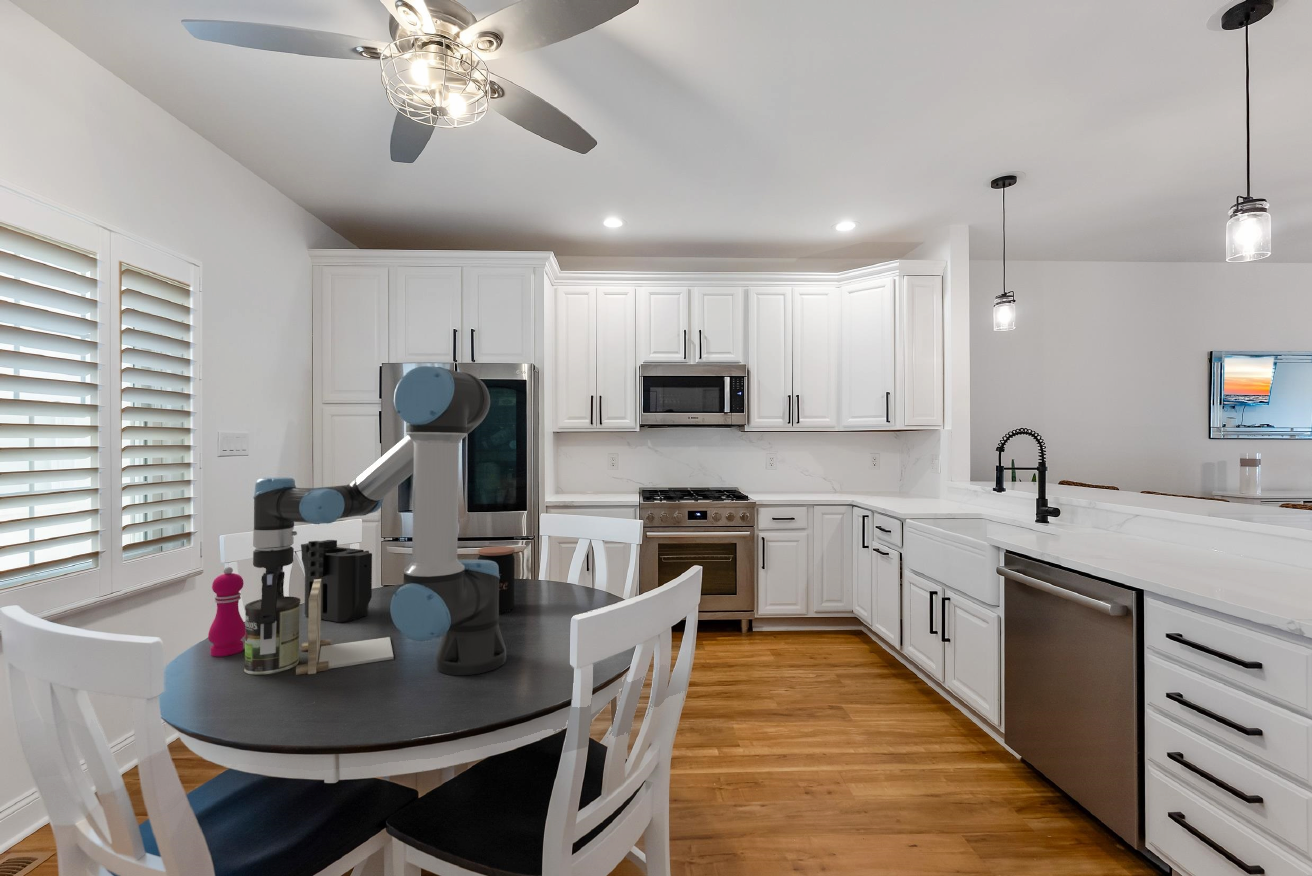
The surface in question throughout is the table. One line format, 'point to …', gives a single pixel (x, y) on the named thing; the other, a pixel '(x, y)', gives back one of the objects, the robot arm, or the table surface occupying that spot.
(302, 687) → the table surface
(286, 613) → the coffee can
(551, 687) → the table surface
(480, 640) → the robot arm
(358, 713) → the table surface
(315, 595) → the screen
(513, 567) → the coffee jar
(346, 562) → the black machined bracket
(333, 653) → the mat
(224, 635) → the pepper mill
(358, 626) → the table surface
